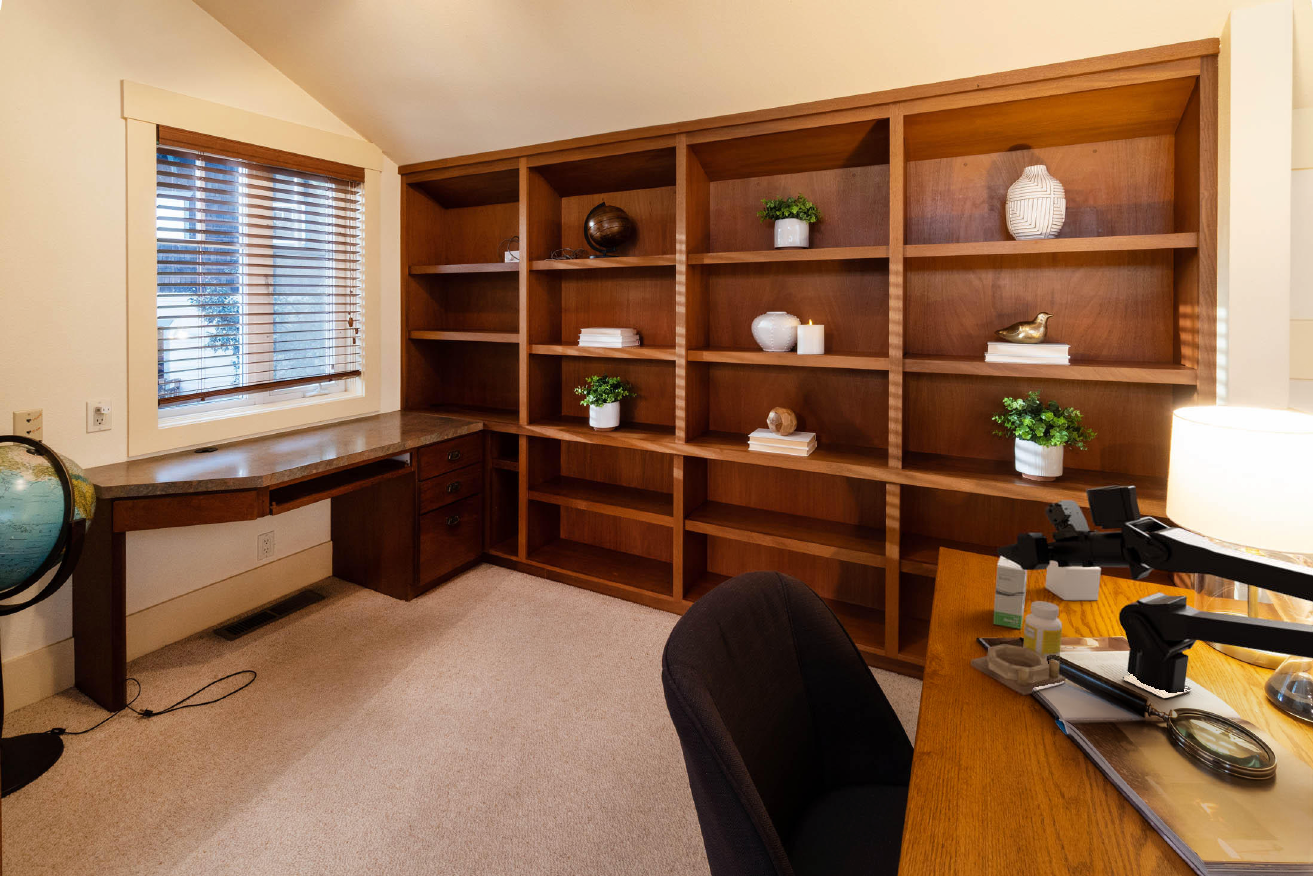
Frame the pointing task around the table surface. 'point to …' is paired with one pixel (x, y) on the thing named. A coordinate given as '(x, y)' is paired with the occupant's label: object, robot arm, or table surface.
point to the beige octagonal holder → (1019, 667)
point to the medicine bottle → (1073, 582)
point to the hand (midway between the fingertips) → (1014, 550)
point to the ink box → (1009, 594)
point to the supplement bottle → (1043, 629)
